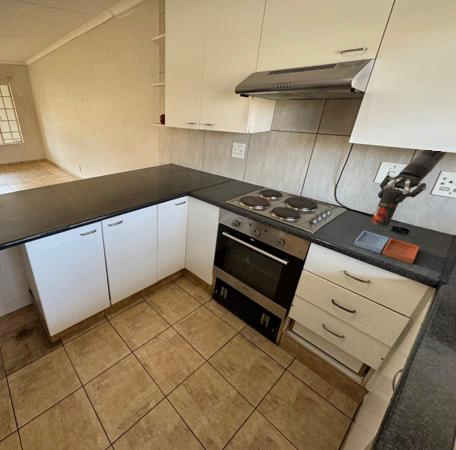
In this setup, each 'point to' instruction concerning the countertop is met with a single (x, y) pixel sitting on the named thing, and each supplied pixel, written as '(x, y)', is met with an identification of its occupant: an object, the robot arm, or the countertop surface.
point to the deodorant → (386, 206)
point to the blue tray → (371, 241)
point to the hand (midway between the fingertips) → (387, 199)
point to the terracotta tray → (401, 250)
